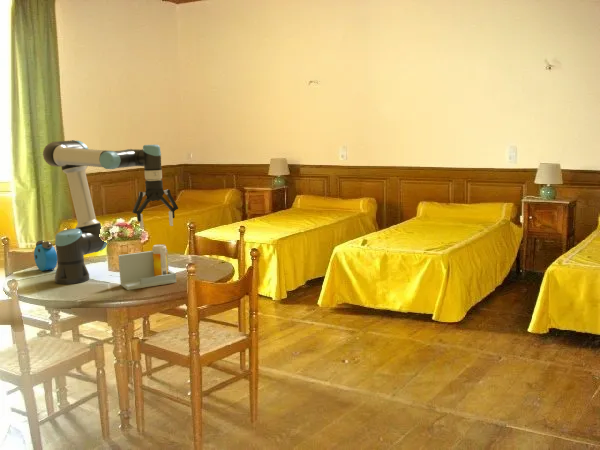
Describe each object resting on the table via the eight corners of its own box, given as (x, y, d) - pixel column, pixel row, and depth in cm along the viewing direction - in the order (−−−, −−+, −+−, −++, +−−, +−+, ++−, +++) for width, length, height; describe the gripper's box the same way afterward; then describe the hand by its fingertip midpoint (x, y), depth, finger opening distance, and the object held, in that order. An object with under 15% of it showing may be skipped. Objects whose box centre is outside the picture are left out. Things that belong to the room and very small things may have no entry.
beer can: (162, 275, 304) (160, 243, 302) (171, 277, 300) (168, 244, 298) (151, 278, 299) (149, 245, 297) (160, 280, 295) (158, 247, 293)
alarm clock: (58, 270, 330) (55, 241, 328) (46, 273, 326) (43, 243, 323) (46, 267, 339) (43, 238, 336) (34, 269, 334) (31, 240, 332)
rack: (127, 290, 286) (125, 259, 284) (120, 285, 296) (118, 255, 293) (176, 282, 297) (174, 252, 295) (168, 277, 306) (166, 249, 304)
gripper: (128, 182, 284) (131, 231, 287) (183, 178, 296) (186, 225, 300) (123, 181, 290) (126, 229, 294) (177, 177, 303) (180, 223, 306)
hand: (156, 227), depth 297 cm, fingers open, 13 cm apart
